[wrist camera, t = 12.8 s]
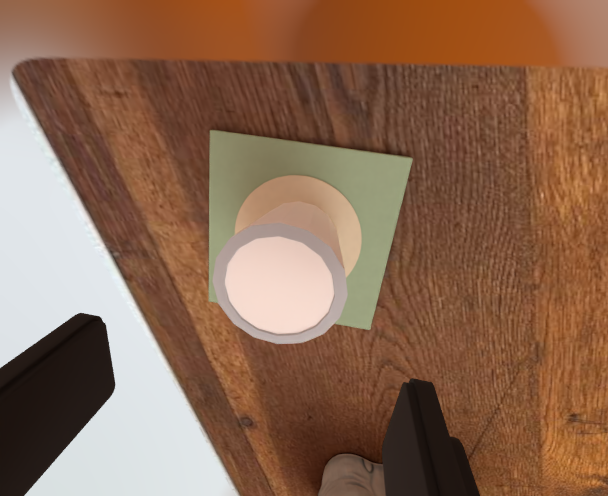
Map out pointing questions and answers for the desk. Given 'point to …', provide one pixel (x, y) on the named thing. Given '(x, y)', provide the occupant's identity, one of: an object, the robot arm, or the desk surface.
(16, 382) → the robot arm
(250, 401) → the desk surface
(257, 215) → the mat
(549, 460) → the desk surface
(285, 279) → the shot glass
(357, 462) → the teapot
